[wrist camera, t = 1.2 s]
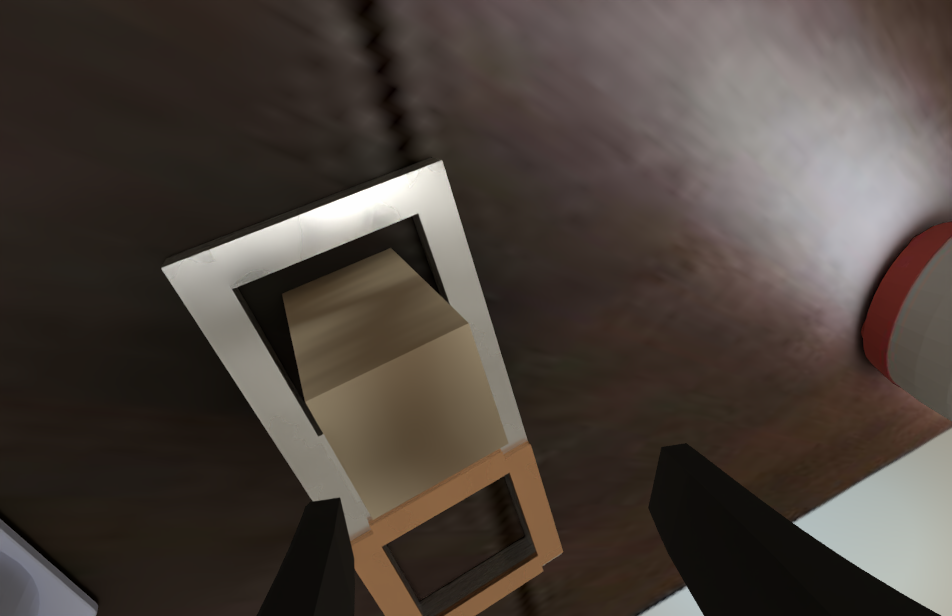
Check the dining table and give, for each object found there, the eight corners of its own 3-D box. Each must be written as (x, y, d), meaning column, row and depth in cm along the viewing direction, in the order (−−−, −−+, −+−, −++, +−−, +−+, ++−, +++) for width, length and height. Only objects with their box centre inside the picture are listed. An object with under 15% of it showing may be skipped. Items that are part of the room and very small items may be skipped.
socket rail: (404, 631, 28) (412, 656, 27) (166, 258, 17) (159, 270, 15) (551, 538, 30) (564, 557, 29) (431, 157, 19) (445, 161, 18)
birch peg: (330, 384, 21) (372, 519, 14) (281, 293, 19) (305, 401, 12) (425, 338, 22) (508, 443, 15) (390, 248, 20) (468, 323, 13)
